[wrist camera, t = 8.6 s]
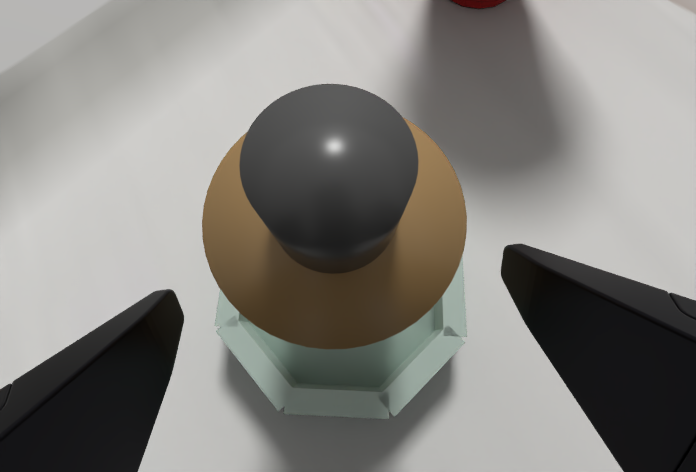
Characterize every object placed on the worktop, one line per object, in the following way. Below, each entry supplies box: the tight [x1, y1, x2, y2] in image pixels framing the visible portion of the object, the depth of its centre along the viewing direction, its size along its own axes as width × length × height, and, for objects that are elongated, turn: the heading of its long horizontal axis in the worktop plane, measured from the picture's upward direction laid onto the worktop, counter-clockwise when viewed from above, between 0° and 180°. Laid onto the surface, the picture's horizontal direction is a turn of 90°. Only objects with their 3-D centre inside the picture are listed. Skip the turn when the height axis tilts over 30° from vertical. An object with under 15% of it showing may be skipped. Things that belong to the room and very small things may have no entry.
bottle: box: [202, 84, 467, 349], centre depth 11 cm, size 5×5×13 cm
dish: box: [215, 256, 467, 419], centre depth 17 cm, size 11×11×2 cm
